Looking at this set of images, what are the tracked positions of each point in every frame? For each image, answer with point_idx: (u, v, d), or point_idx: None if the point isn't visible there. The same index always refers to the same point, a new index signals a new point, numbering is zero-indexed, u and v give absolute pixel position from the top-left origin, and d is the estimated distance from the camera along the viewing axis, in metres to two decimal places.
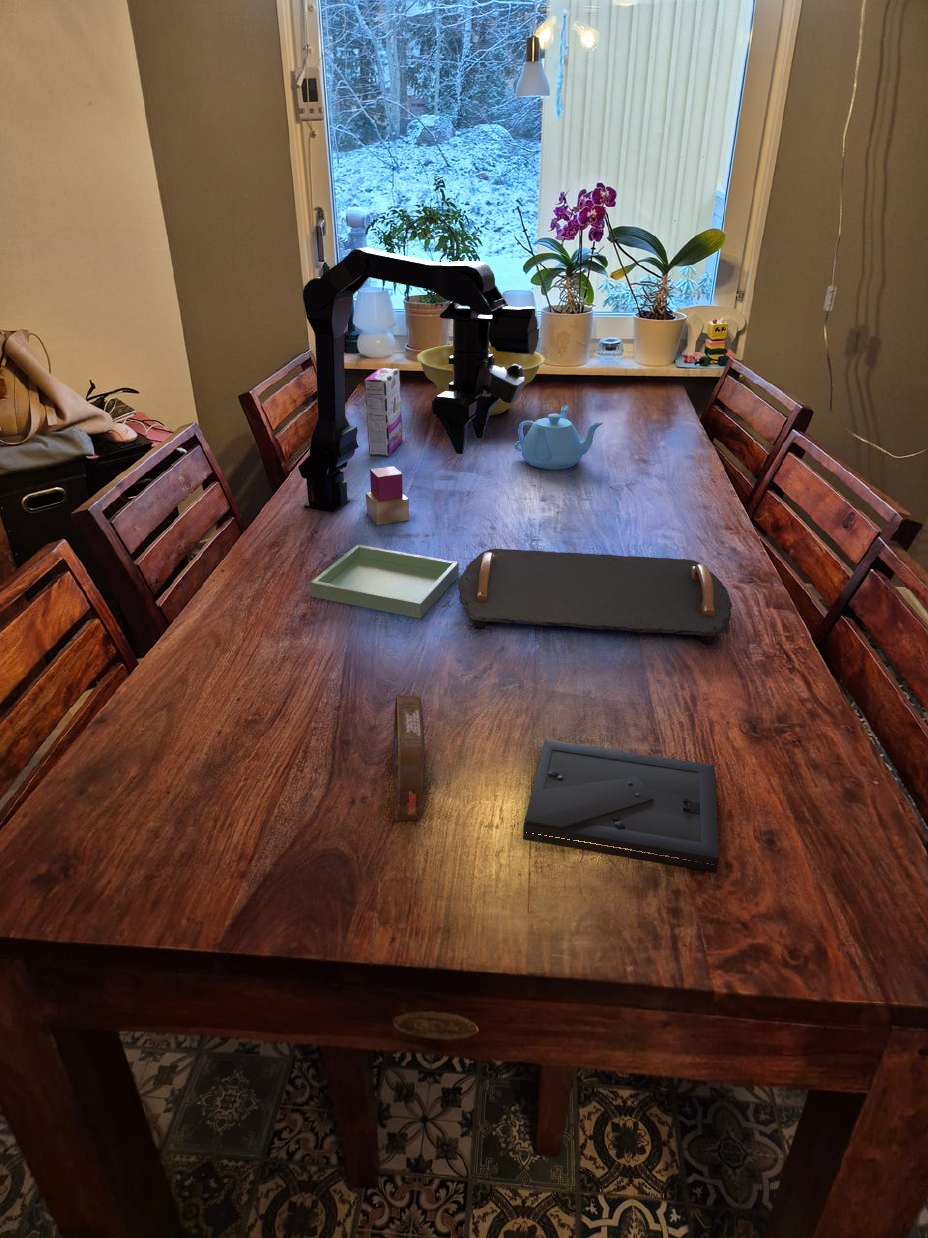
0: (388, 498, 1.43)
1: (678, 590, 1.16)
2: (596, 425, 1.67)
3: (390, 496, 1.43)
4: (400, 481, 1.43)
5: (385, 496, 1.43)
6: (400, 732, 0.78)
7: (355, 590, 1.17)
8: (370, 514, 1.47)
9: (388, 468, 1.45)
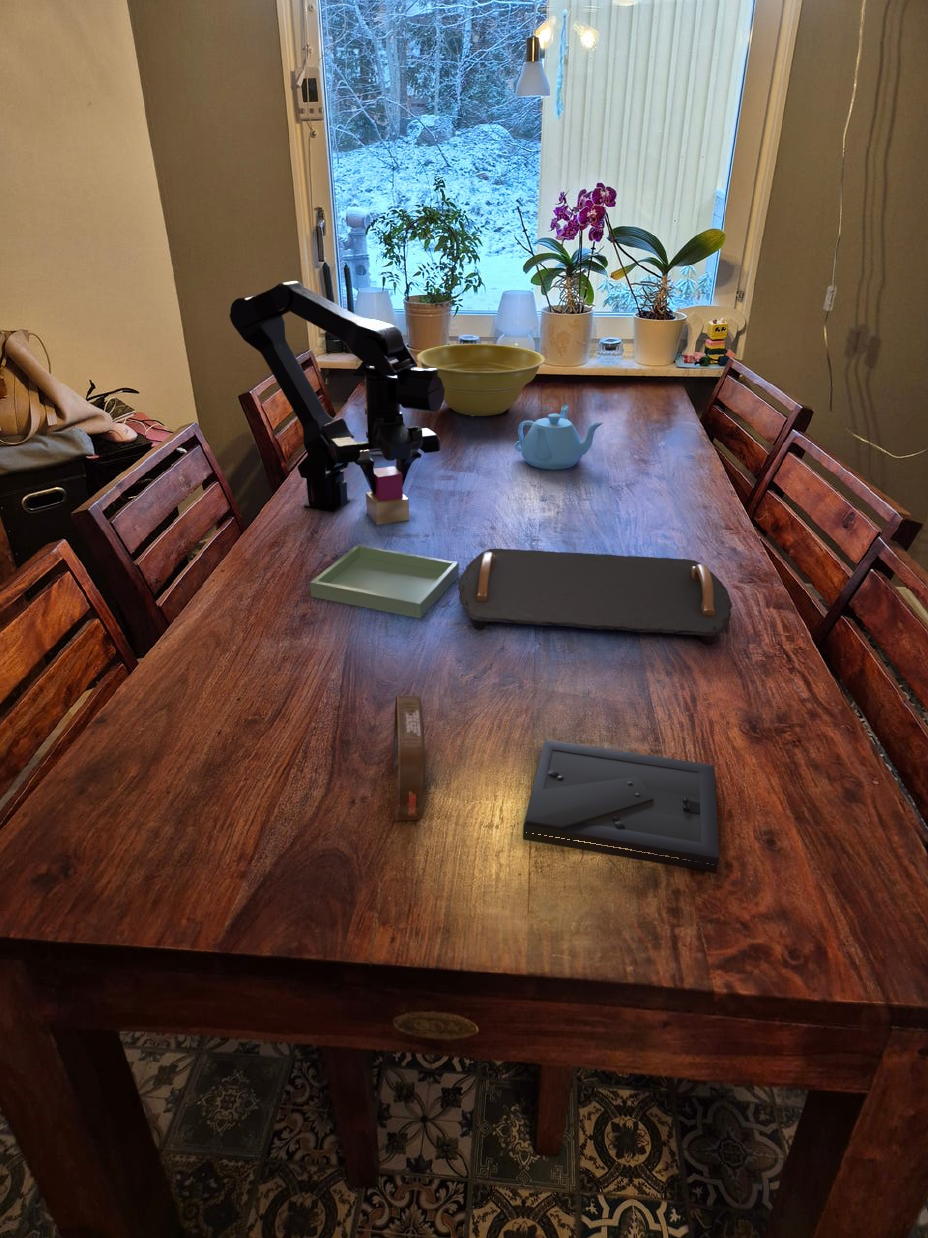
0: (388, 498, 1.43)
1: (678, 590, 1.16)
2: (596, 425, 1.67)
3: (390, 496, 1.43)
4: (400, 481, 1.43)
5: (385, 496, 1.43)
6: (400, 732, 0.78)
7: (355, 590, 1.17)
8: (370, 514, 1.47)
9: (388, 468, 1.45)
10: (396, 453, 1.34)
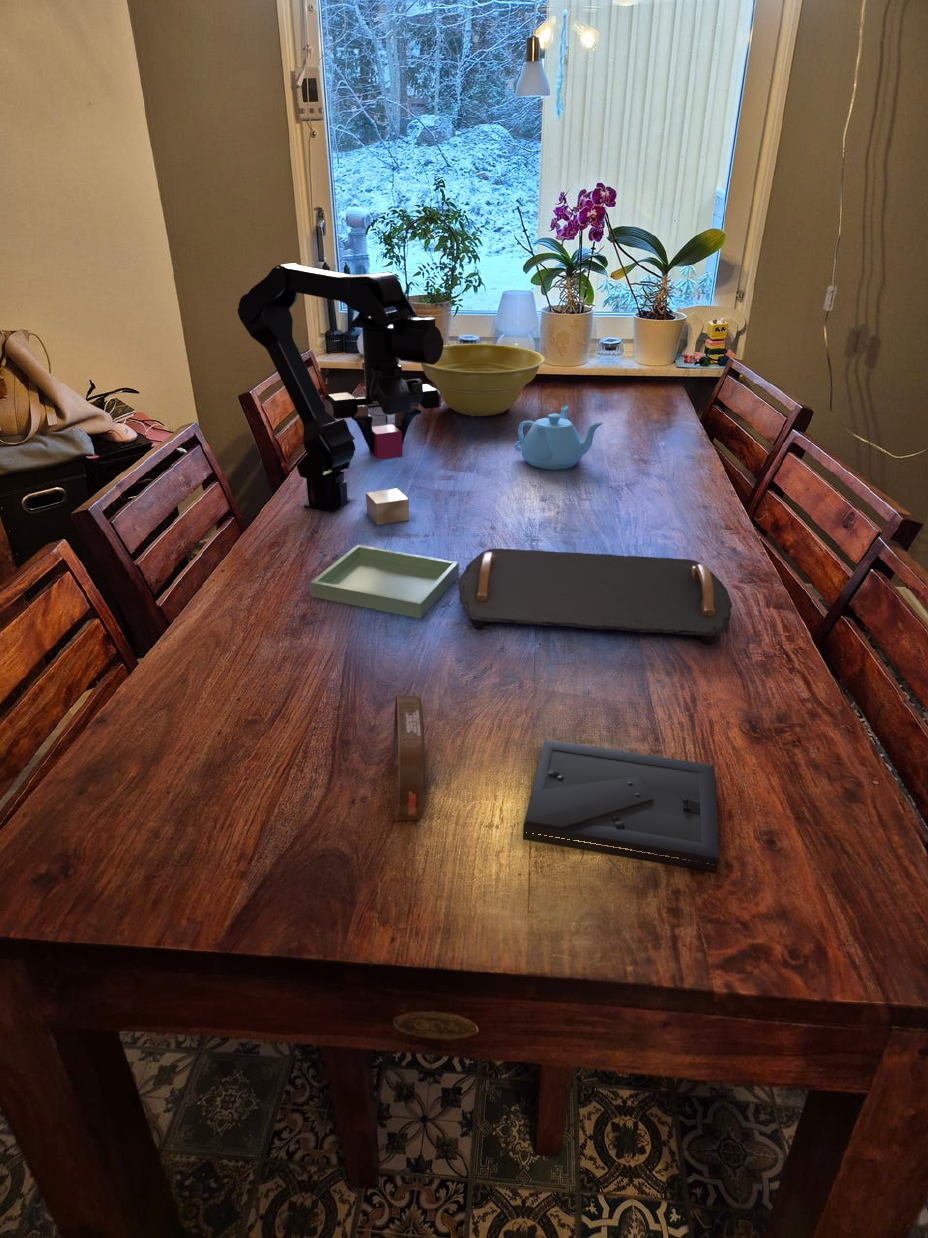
0: (387, 457, 1.38)
1: (678, 590, 1.16)
2: (596, 425, 1.67)
3: (389, 455, 1.38)
4: (400, 439, 1.37)
5: (384, 454, 1.38)
6: (400, 732, 0.78)
7: (355, 590, 1.17)
8: (370, 514, 1.47)
9: (386, 426, 1.39)
10: (395, 406, 1.29)
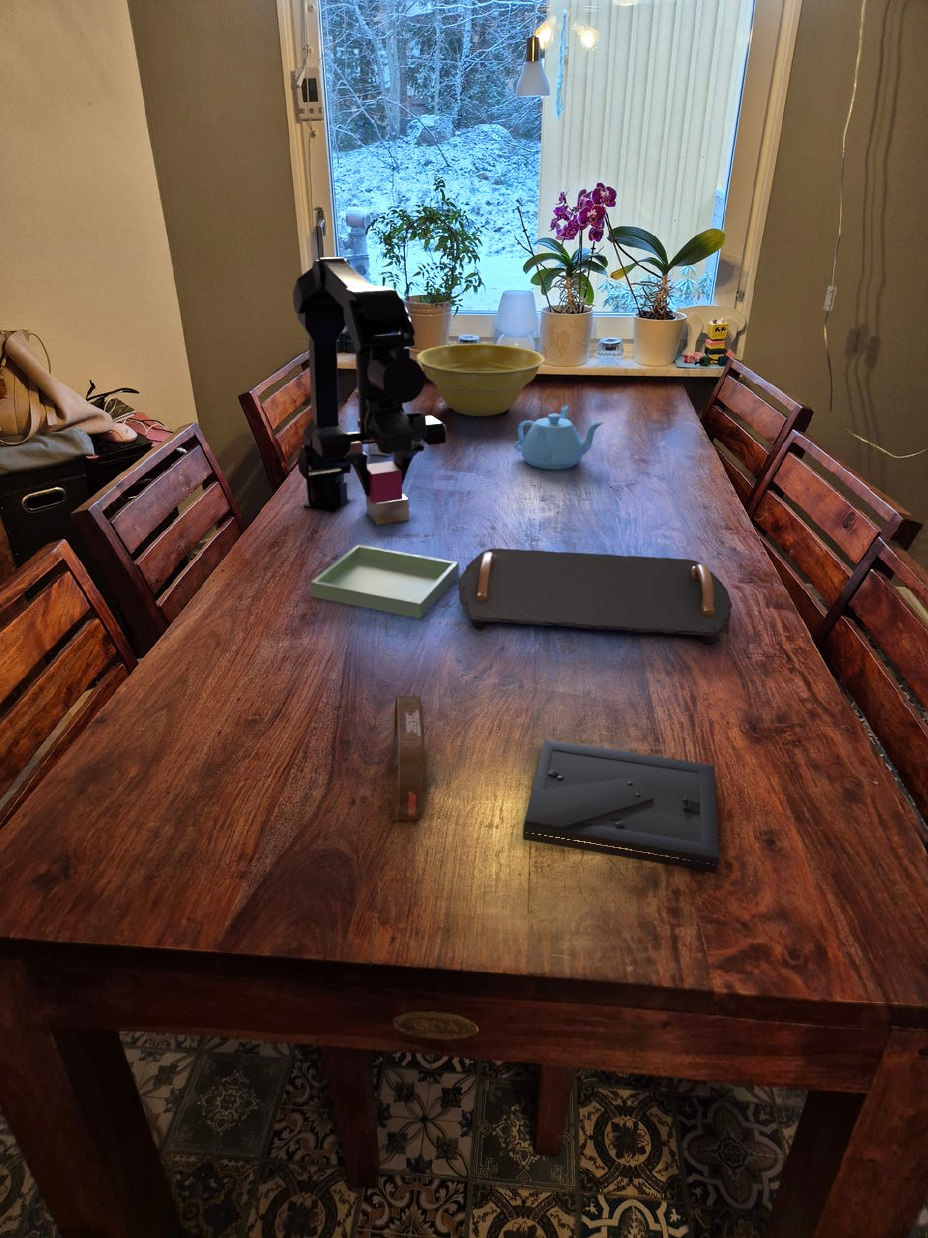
0: (385, 499, 1.19)
1: (678, 590, 1.16)
2: (596, 425, 1.67)
3: (387, 497, 1.19)
4: (399, 479, 1.19)
5: (381, 497, 1.19)
6: (400, 732, 0.78)
7: (355, 590, 1.17)
8: (370, 514, 1.47)
9: (384, 463, 1.21)
10: (394, 444, 1.10)
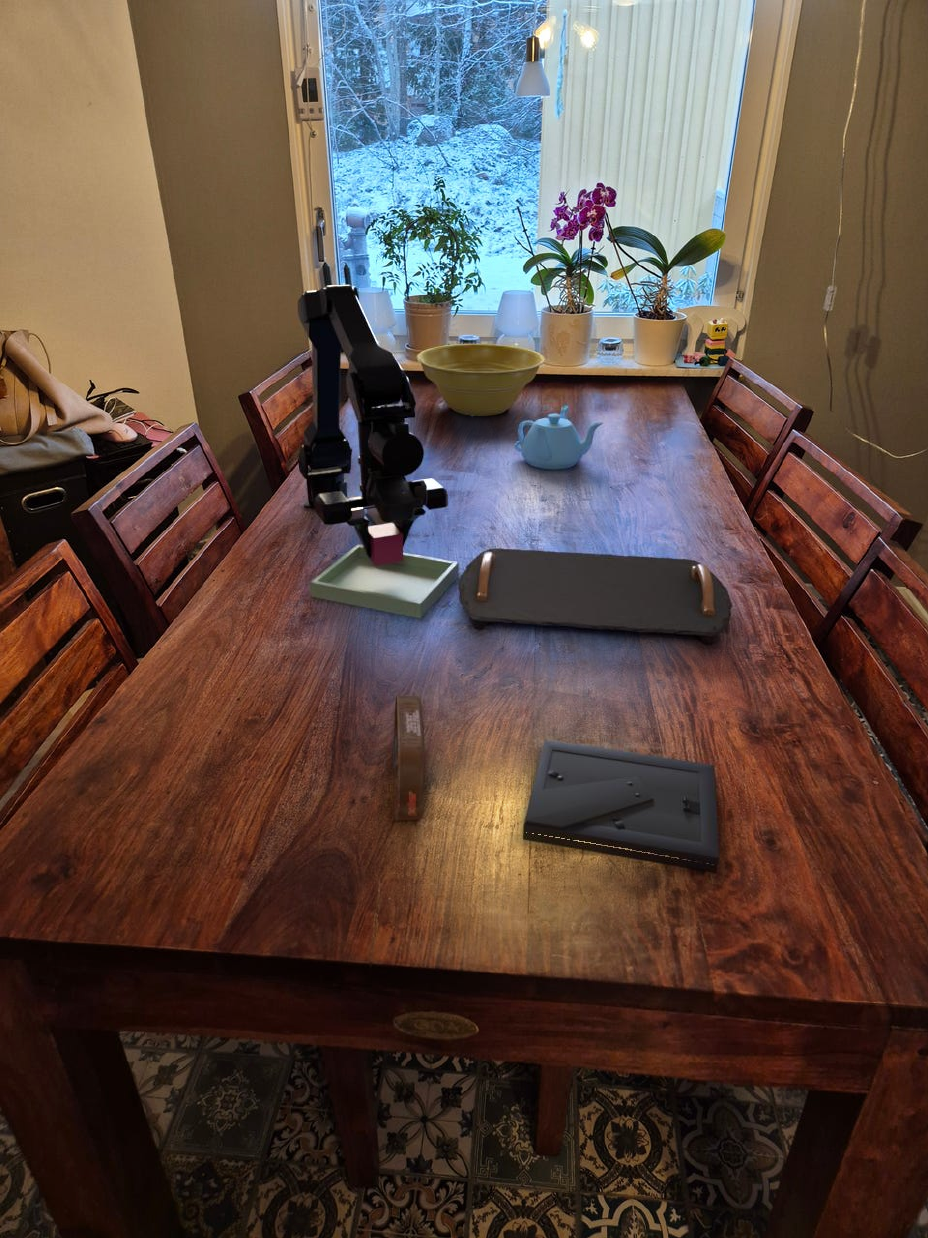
0: (386, 562, 1.21)
1: (678, 590, 1.16)
2: (596, 425, 1.67)
3: (388, 559, 1.21)
4: (400, 542, 1.20)
5: (382, 560, 1.20)
6: (400, 732, 0.78)
7: (355, 590, 1.17)
8: (370, 514, 1.47)
9: (385, 525, 1.22)
10: (395, 514, 1.11)
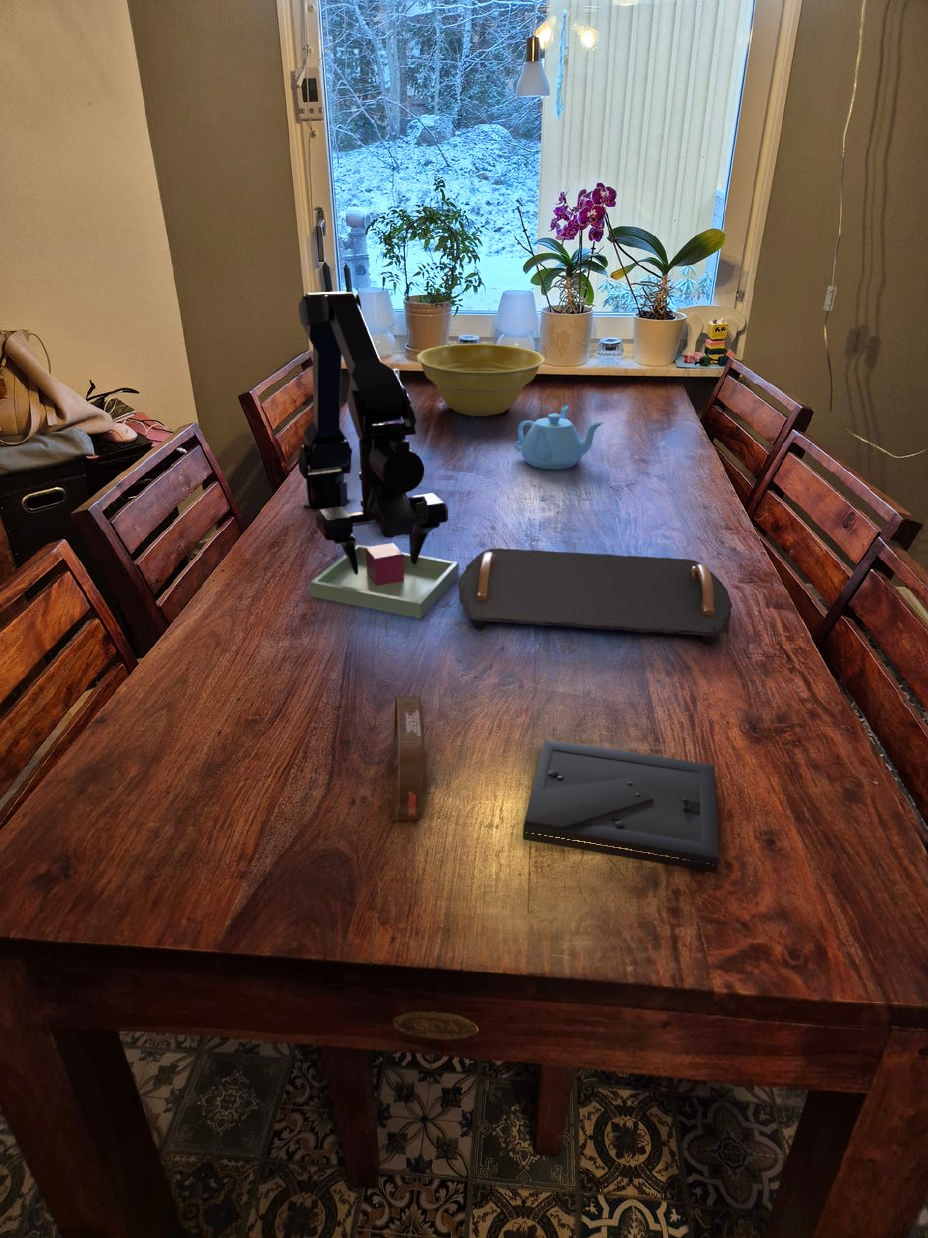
0: (387, 582, 1.22)
1: (678, 590, 1.16)
2: (596, 425, 1.67)
3: (389, 579, 1.22)
4: (401, 562, 1.22)
5: (383, 580, 1.22)
6: (400, 732, 0.78)
7: (355, 590, 1.17)
8: None
9: (386, 545, 1.24)
10: (396, 529, 1.12)
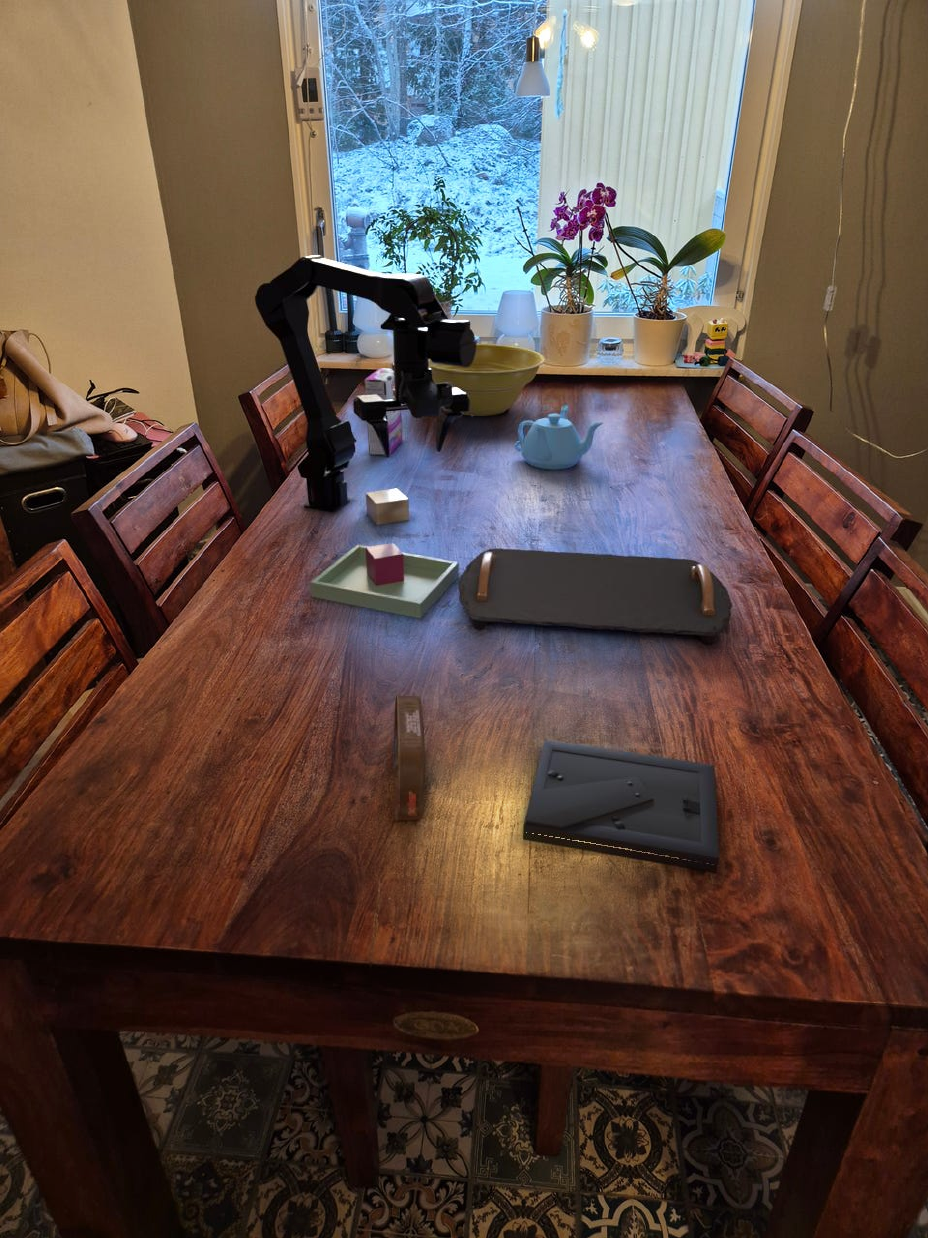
0: (387, 582, 1.22)
1: (678, 590, 1.16)
2: (596, 425, 1.67)
3: (389, 579, 1.22)
4: (401, 562, 1.22)
5: (383, 580, 1.22)
6: (400, 732, 0.78)
7: (355, 590, 1.17)
8: (370, 514, 1.47)
9: (386, 545, 1.24)
10: (424, 410, 1.28)
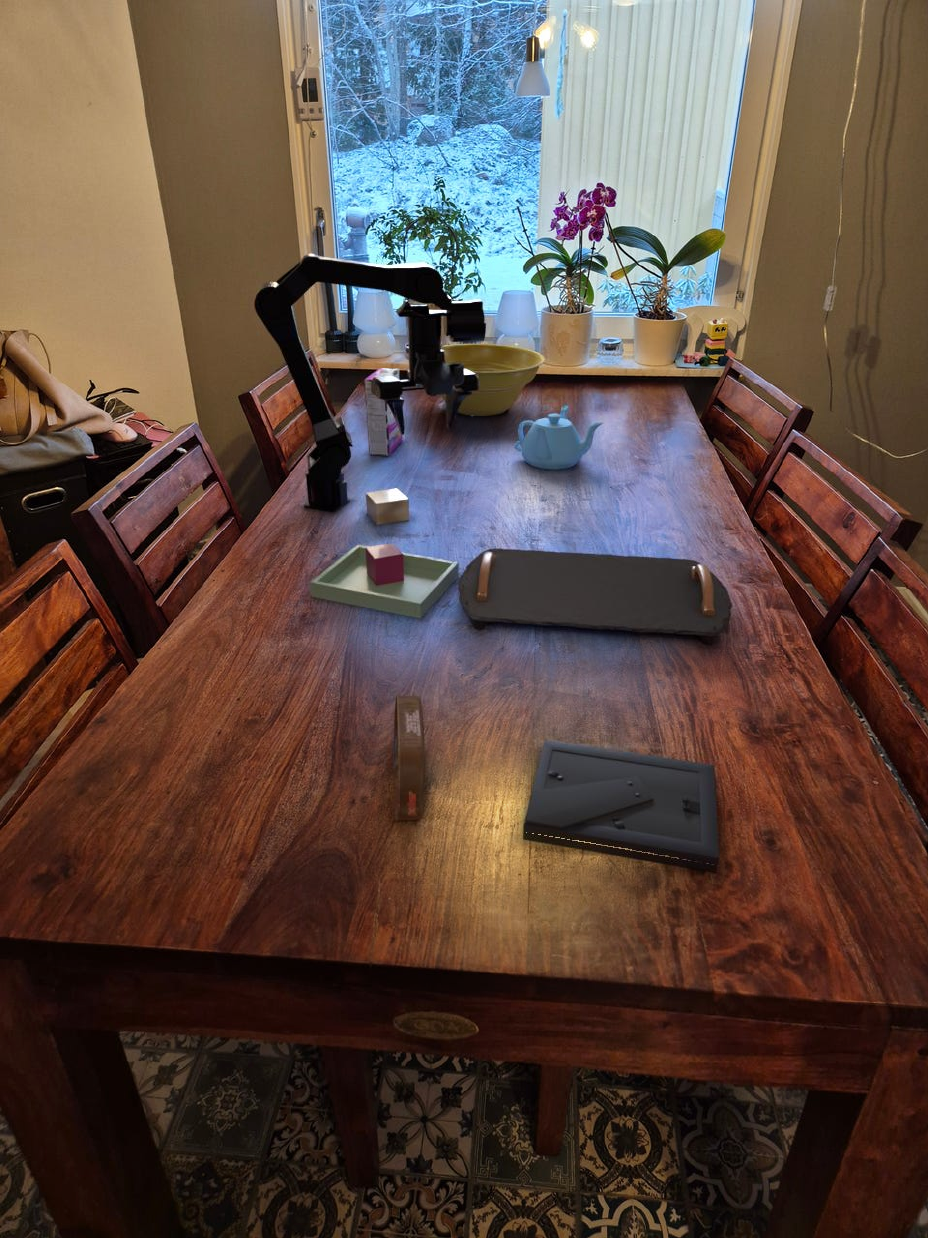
0: (387, 582, 1.22)
1: (678, 590, 1.16)
2: (596, 425, 1.67)
3: (389, 579, 1.22)
4: (401, 562, 1.22)
5: (383, 580, 1.22)
6: (400, 732, 0.78)
7: (355, 590, 1.17)
8: (370, 514, 1.47)
9: (386, 545, 1.24)
10: (438, 388, 1.38)
